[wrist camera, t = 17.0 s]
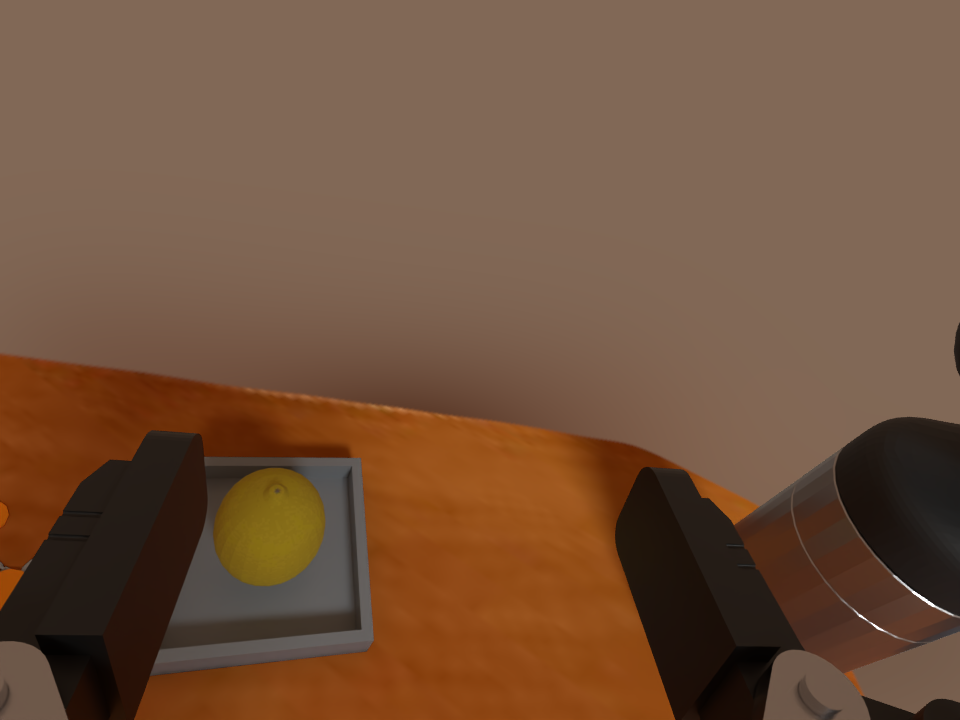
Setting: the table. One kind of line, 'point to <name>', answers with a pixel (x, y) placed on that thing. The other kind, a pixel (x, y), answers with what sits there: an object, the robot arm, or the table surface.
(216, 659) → the tray
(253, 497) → the lemon
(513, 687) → the table surface
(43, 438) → the table surface
